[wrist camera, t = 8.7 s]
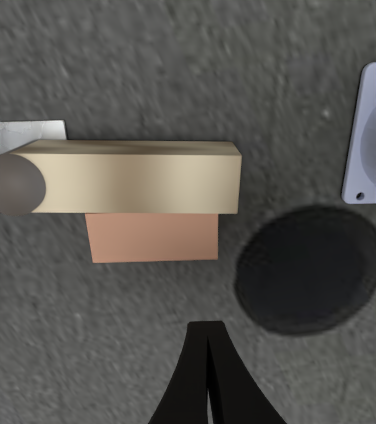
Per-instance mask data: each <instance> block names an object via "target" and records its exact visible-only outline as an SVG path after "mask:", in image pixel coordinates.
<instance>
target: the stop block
mask: <svg viewBox="0 0 376 424" xmlns="http://www.w3.org/2000/svg"><path fill="white" fill-rule="evenodd" d="M85 217H86V223H87V229H88V235H89V241H90V247H91V253H92V259H93V263H105V262H141V261H176V260H211V259H218V214H200V213H85Z"/></svg>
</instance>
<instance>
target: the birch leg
mask: <svg viewBox="0 0 376 424" xmlns="http://www.w3.org/2000/svg"><path fill="white" fill-rule="evenodd" d="M241 158H242V155H241V154H240V153H239V151H238V150H237V148H236V147H235V145H234V144H233V142H212V141H106V140H34V141H31V142H28V143H26V144H23V145H21V146H19V147H16V148H14V149H12V150H9V151H7V152H5V153H2V154H0V213H3V214H5V215H10V216H23V215H26V214H29V213H31V212H59V213H200V214H237V211H238V198H239V185H240V172H241Z"/></svg>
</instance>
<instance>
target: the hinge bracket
mask: <svg viewBox="0 0 376 424" xmlns="http://www.w3.org/2000/svg"><path fill="white" fill-rule="evenodd" d="M34 140H68V137H67V131H66V125H65V120H45V121H12V122H0V154H2V153H5V152H7V151H9V150H12V149H14V148H16V147H19V146H21V145H23V144H26V143H28V142H31V141H34Z"/></svg>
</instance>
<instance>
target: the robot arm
mask: <svg viewBox="0 0 376 424" xmlns="http://www.w3.org/2000/svg"><path fill="white" fill-rule="evenodd" d="M358 193H361V196H360V197H359V198H356V196H357V194H358ZM342 199H343V201H345V202H346V203H347V204H369V203H376V62H372V63H369V64H367V65H366V66H365V67H364V69H363V71H362V75H361V81H360V87H359V93H358V99H357V105H356V111H355V117H354V123H353V129H352V135H351V141H350V147H349V153H348V159H347V165H346V171H345V177H344V183H343V189H342ZM208 391H209V398H210V404H211V411H212V417H213V424H287V423H286V422H285V421H284V420H283V419H282V417H281V416H280V415H279V414H278V412H277V411H276V410H275V409H274V407H273V406H272V405H271V403H270V402H269V401H268V400H267V398H266V397H265V396H264V394H263V393H262V391H261V390H260V388H259V387H258V386H257V384H256V383H255V381H254V380H253V378H252V376H251V375H250V373H249V372H248V370H247V369H246V367H245V365H244V363H243V362H242V360H241V358H240V356H239V355H238V353H237V351H236V349H235V347H234V345H233V343H232V341H231V339H230V337H229V335H228V332H227V330H226V327H225V324H224V323H223V322H222V321H195V322H189V323H188V325H187V333H186V338H185V342H184V345H183V349H182V352H181V355H180V358H179V360H178V363H177V366H176V369H175V371H174V373H173V376H172V378H171V380H170V383H169V385H168V387H167V389H166V391H165V393H164V395H163V397H162V399H161V401H160V403H159V405H158V407H157V409H156V411H155V413H154V414H153V416H152V418H151V419H150V421H149V423H148V424H208V415H207V400H208Z"/></svg>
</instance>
